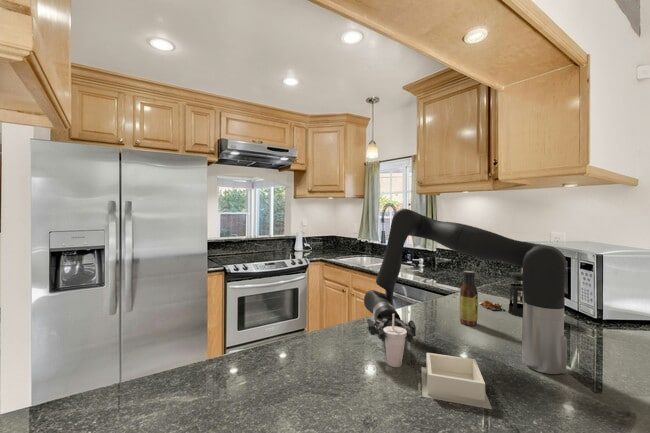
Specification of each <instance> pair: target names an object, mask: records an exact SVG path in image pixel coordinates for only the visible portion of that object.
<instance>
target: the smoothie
mask: <svg viewBox="0 0 650 433" xmlns="http://www.w3.org/2000/svg"><path fill="white" fill-rule="evenodd" d="M383 330H384V332H385V341H384V343H385V344H384V346H385V354H386V363H387V365H388V366H390V367H392V368H399V367H401V366H402V365H403V358H404V357H403V356H404V351H405V350H404V349H405V343H406V336H407V331H406V330H405V329H404V328H401V327H397V326H394V314H392V326H388V327H385V328H384V329H383Z"/></svg>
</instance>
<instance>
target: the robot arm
mask: <svg viewBox="0 0 650 433" xmlns="http://www.w3.org/2000/svg"><path fill="white" fill-rule="evenodd" d="M409 236H410V237H417V238H420V239H421V238H422V239H427V240H429V241H434V242H435V243H437V244H439V245H441V246H443V247H445V248H448V249H449V250H452V251H454V252H458V253H461V254H463V255H467V256H470V257H473V258H479V259H485V260H490V261H491V260H493V261H498V262H499V261H500V262H503V263H507V264H511V265H514V266H516V267H519V268H521V269H522V268H523V275H522V290H523V291H522V296H523V297H524V298H523V303H522V304H523V317H522V333H521V334H522V337H521V338H522V341H521V343H522V344H521V347H522V348H521V361H522V363H523V364H525V365H526V366H527V368H529V369H530V370H532V371H533V370H534V371H537V372H539V373H543V374H547V375H559V374H565V375H566V374H567V354H568V353H567V351H568V338H567V336H565V334H564V332H565V331H564V330H565V329H564V328H565V302H566V301H565V300H566V299H565V283H566V282H565V280H566V278H565V275H566V267H567V259H566V257H565V254H563V252H562V251H560V250H559V249H557V248H556V247H554V246H551V245H545V244H538V243H531V242H527V241H522V240H521V241H520V240H517V239H512V238H509V237H506V236H503V235H501V234H498V233H495V232H493V231H489V230H487V229H482V228H479V227H476V226H473V225H468V224H465V223H461V222H460V223H459V222H451V221H442V220H441V221H440V220H437V219H434V218H431V217H428V216H425V215H424V214H421V213H419V212H416V211H415V210H411V209H408V208H401V209H398V210H397V211H396V212H395V213H394V214H393V216H392V218H391V223H390V230H389V235H388V239H387V245H386V249H385V252H384V254H383V259H382V262H381V265H380V267H379V270H378V273H377V276H376V278H375V283H376V285H378V287H380V288H382V289H383V290H385V293H382V292H381V291H377V290H374V289H371V290H368V291H367V292H366V293H365V294H364V296H363V297H364V298H363V305H364V307H365V308H366V310H368V312H370V313H371V314H372V317H373V320H372V319H370V318H368V319H366V329H367V330H368V333H369V334H370V335H371V336H375V335H376V336H377V337H378V339H379V340H380V341H382V342H385V332H384V330H383V329H384V328H385V327H388V326H392V314H394V326H397V327H401V328H404V329H405V330H406V331H407V336H406V337H405V340H406V341H407V342H408V343H411V342H412V341H413V340H414V337H416V336H417V334H416V333H417V332H416V330H417V326H416V324H415V322H414V321H413V320H408V321H407V322H404V321H403V319H401V316H400V315H399V313H398V311H397V310H396V308H395V307H394V306H393V305H394V304H393V302H394V291H395V285H396V284H397V281H398V279H399V278H398V277H399V275H400V272H401V267H402V258H403V257H402V256H403V249H404V247H405V243H406V241H407V239H408V237H409Z"/></svg>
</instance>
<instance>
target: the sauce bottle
mask: <svg viewBox="0 0 650 433" xmlns="http://www.w3.org/2000/svg"><path fill="white" fill-rule="evenodd" d="M462 274H463V275H462V276H463V284H462V285H461V287H460V290H459V292H460V294H459V322H460V323H461V324H463V325H465V326H470V327H471V326H472V327H473V326H476V325H477V324H478V319H479V315H478V314H479V313H478V312H479V311H478V310H479V301H478V300H479V299H478V298H479V293H478V292H479V291H478V289H477V286H476V283H475V276H476V272H475V271H471V270H463V272H462Z"/></svg>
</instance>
